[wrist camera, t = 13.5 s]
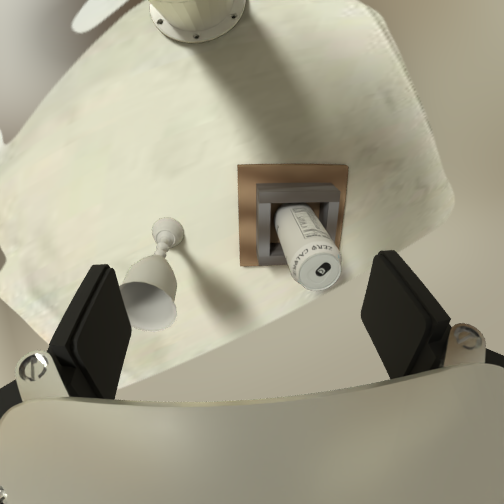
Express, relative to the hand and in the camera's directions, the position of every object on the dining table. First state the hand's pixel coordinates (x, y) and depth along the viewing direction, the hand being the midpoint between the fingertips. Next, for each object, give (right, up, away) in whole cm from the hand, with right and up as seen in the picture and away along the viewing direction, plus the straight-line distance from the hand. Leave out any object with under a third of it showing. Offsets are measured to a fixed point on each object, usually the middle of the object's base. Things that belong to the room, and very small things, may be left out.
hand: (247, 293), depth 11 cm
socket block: (+6, +7, +36) cm, 37 cm away
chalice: (-13, +5, +36) cm, 39 cm away
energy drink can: (+6, +7, +35) cm, 36 cm away
